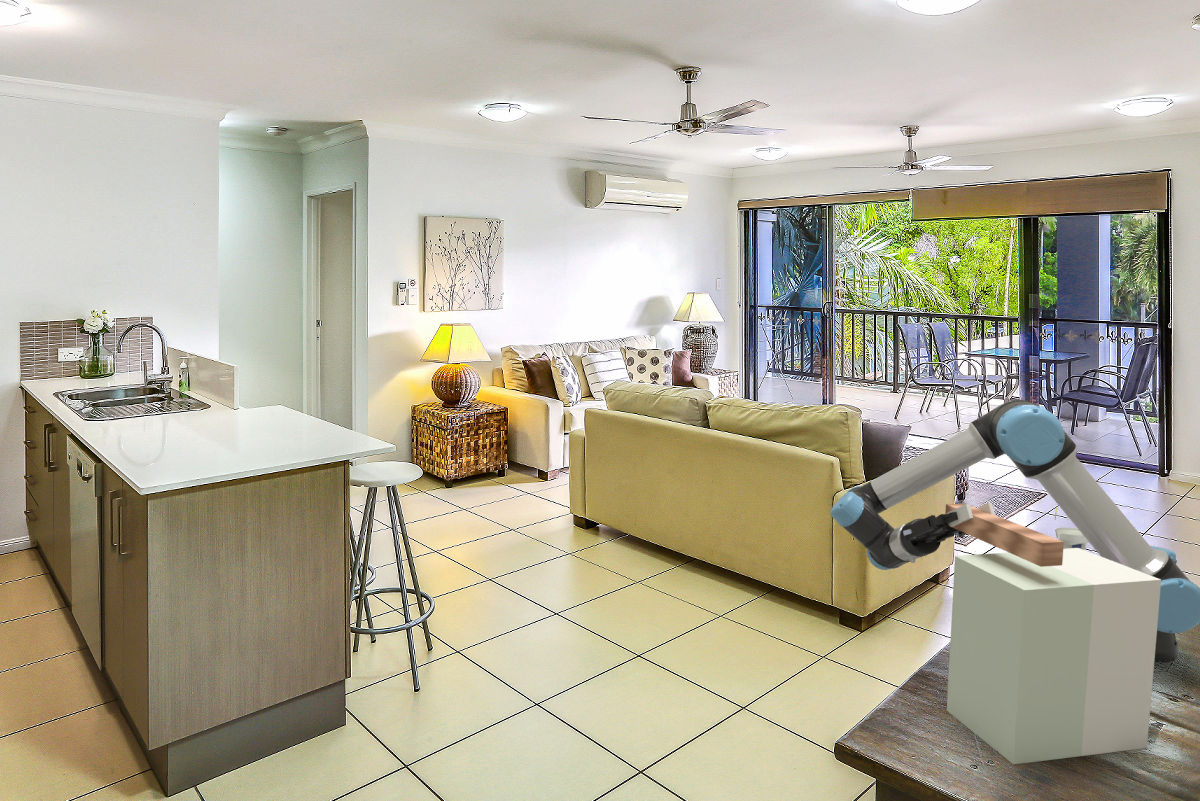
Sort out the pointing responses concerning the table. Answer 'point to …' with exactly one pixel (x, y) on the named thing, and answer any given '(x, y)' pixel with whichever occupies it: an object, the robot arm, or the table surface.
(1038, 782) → the table surface
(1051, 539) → the bar
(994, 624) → the pale green cube
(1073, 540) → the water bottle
